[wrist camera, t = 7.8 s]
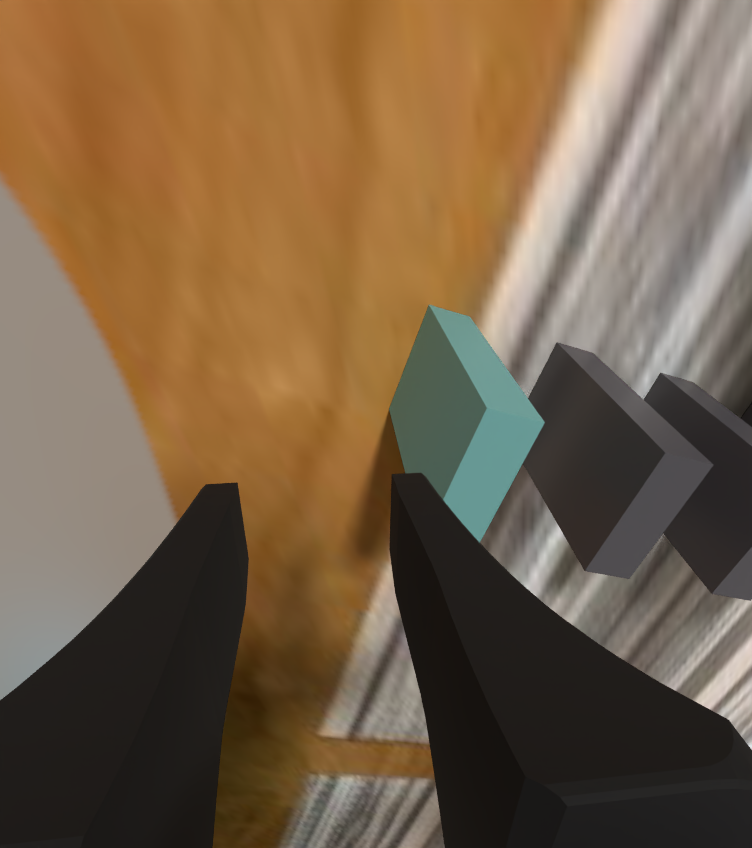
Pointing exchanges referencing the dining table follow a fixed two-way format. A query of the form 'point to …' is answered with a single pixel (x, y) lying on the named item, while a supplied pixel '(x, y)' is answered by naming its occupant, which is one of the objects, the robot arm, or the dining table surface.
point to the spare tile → (462, 418)
